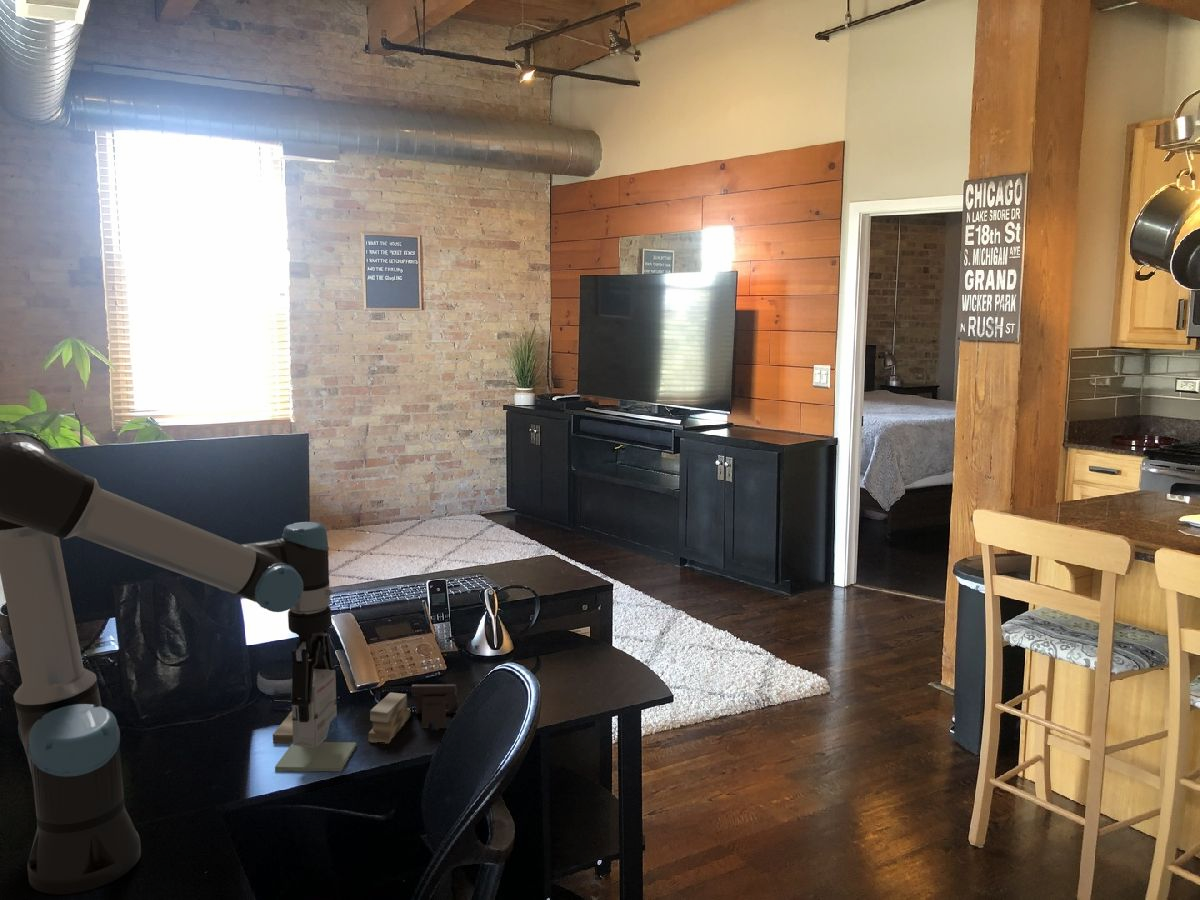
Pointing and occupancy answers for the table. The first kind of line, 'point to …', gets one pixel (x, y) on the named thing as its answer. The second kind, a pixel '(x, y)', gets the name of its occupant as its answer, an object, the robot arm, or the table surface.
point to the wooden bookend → (284, 731)
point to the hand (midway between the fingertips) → (315, 724)
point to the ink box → (319, 709)
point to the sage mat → (316, 757)
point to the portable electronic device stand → (435, 702)
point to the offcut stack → (388, 717)
